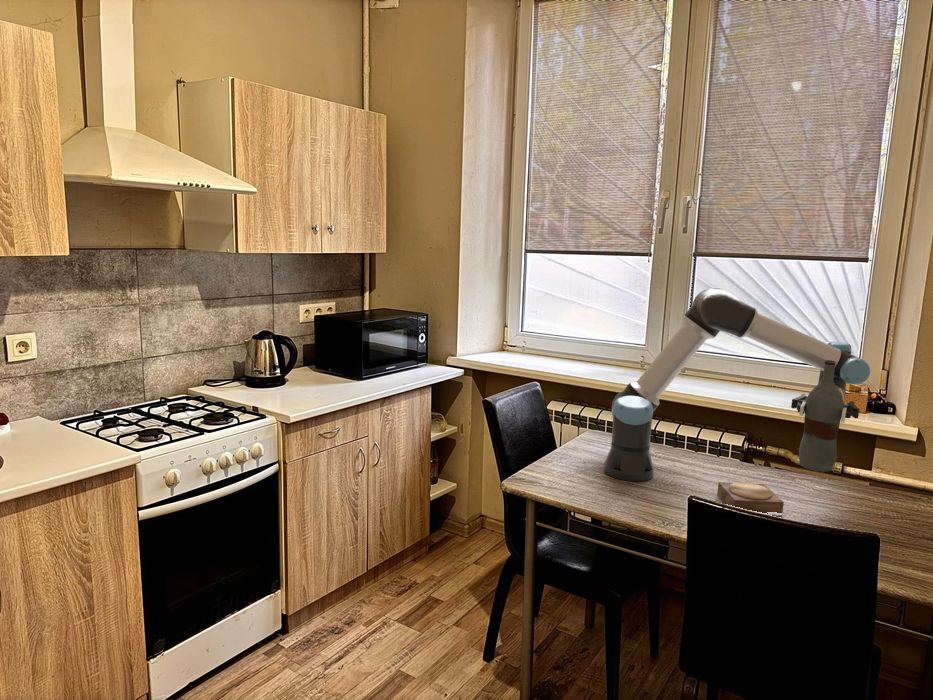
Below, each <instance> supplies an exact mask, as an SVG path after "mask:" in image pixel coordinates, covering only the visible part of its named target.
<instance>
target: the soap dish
mask: <svg viewBox="0 0 933 700" xmlns="http://www.w3.org/2000/svg"><path fill="white" fill-rule="evenodd" d="M716 496H717V497H718V498H719V499H720V498H721V499H720V501H721V502H722V503H723V504H724V503H725V504H728V505H732V506H735V507H740V508H743V509H747V510H752V511H757V512H762V513H767V512H777V513H783V514H784V505H785V503H784V501H783V500H782V499H781V498H780V497H779V496H778V495H777V494H776V493H775V492H774V491H772V490H771V489H770V487H768V486H767V485H766V484H765V483H751V482H740V481H739V482H738V481H737V482H725V481H724V482H723V481H719V482H718V484H717V495H716ZM725 504H724V505H725ZM767 514H768V513H767Z"/></svg>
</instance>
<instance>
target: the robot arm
mask: <svg viewBox="0 0 933 700" xmlns="http://www.w3.org/2000/svg"><path fill="white" fill-rule="evenodd" d="M720 332H724V333H726V334H729V335H730V334H731V336H732V335H733V336H735V337H737V338H739V339H742V338H745V337H746V338H747V339H750V340H752V341H755V342H757V343H759V344H762V345H764V346H766V347H769V348H770V349H773V350H774V351H777V352H778V353H782V354H784V355H786V356H789V357H791V358H793V359H795V360H798V361H800V362H802V363H805V364H806V365H809V366H811V367H813V368H816V369H818V370H819V371H820V372H819V376H818V383H819V382H820V381H821V380H822V377H823V370H824V364H825V362H824V361H825V360H832V361H835V362H836V363H835V370H834V378H833V382H834V383H835V385H836V387H837V389H838V391H839V393H840V395H841V397H842V400H843V412H842V417H841V421H840V423H841V424H843V423H844V424H845V421H846V419H851V417H852V418H854V419H859V415H860V408H858V406H857V405H856V404H855V403H856V402H855V401H847V402H845V401H844V398H845V397H846V393H847V388H846V387H847V384H850V385H861V384H863V383H865V382H866V381H867V380H868V379H869V378H870V375H871V368H870V365H869V363H868V362H866V361H865V360H864V359H863V358H860V357H857V356H856V355H853V354H852V344H850V343H847V342H841V341H826V342H823V341H821V340H819V339H817V338H814V337H812V336H811V335H809V334H808V335H807V333H806V334H805V333H803V332H801V331H799V330H797V329H795V328H792V327H791V326H788V325H785V324H784V323H781V322H778V321H777V320H774V319H773V318H770V317H767V316H765V315H763V314H761V313H759V312H758V310H757V308H755V307H754V306H752V305H749V304H747V303H746V302H744V301H743V300H742V299H739V298H737V297H736V296H735V295H733V294H732V293H731V292H728V291H726V290H724V289H722V288H719V287H709V288H706V289H704V290H702V291H700V292H699V293H698V294H697V295H696V296H695V297H694V300H693V302H692V304H691V306H690V307H689V309H688V310H686V312H685V314H684V315H683V324H682V325H681V326H680V327H679V329H678V330H677V331H676V333H675V334H674V335H672V338H671V339H670V340H669V341H668V343H666V345H665V346H664V347H663V348H662V350H661V351H660V352H659V354H658V355H657V356H656V357H655V358H654V359H653V360H652V362H651V363H650V364H649V366H648V367H647V368H646V369H645V371H644V372H643V373H642V375H640V377H639V378H638V379H637V380H635V381H630V382H629V383H628V384H627V385H626V387H625V388H624V389H623V390H622V391H620V392H618V394H616V396H615V397H614V399H613V400H612V402H611V403H612V404H611V416H612V431H611V443H610V444H611V445H610V449H609V451H608V454H607V456H606V458H605V461H604V465H603V472H604V473H605V474H606V475H608V476H609V477H612V478H614V479H617V480H621V481H627V482H628V481H629V482H644V481H648V480H651V479H653V477H654V471H655V470H654V469H655V468H654V464H653V460H652V455H651V452H650V451H651V449H650V448H651V437H652V436H651V434H652V423H653V416H654V412H655V410H656V409H657V408H658V406H659V405H660V397H661V396H662V394H663V393H664V392H665V391H666V389H667V388H669V386H670V384H671V383H672V382H673V381H674V379H675V378H676V377H677V376H678V375H679V373H680V372H681V371H682V370H683V369H684V367H685V366H686V365H687V364H688V363H689V362H690V360H691V359H692V358H693V356H695V354H696V353H697V352H698V350H699V349H700V348H701V347H702V346H703V344H704V343H705V342H706V341H707V340H709V339H714V338H715V337H716V336H717V335H718V334H719V333H720ZM818 383H817V384H818ZM807 397H808V395H806V394H804V393H802V394H800V396H796V397H794V398H792V399H791V406H790V408H791V409H796V411H797V413H799V415H798V416H799V417H803V416H804V415H805V404H806V400H807Z"/></svg>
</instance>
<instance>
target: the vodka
mask: <svg viewBox="0 0 933 700" xmlns="http://www.w3.org/2000/svg"><path fill="white" fill-rule="evenodd" d="M824 362H825V364H824V370H823V377H822V380H821V381H820V382H819V381H818V382H819V383H817V384H816V385H815V387H813V389H812V390H811V391H810V392H809V393H808V395H807V396H808V397H807V400H806V404H805V412H804V421H803V422H804V424H803V435H802V437H801V440H800V443H799V444H800V445H799V448H798V460H799V465H800V466H801V467H802V468H804V469H807V470H811V471H813V472H814V471H815V472H823V473H824V472H825V473H826V472H831V471H832V470H833V468H834V466H835V463H836V461H837V457H838V453H837V452H838V451H837V450H838V449H837V448H838V447H837V446H838V445H837V440H838V439H837V437H838V433H839V429H840V424H841V418H842V412H843V402H844V399H843V400H842V397H841V395H840V393H839V391H838V389H837V387H836V385H835V383H834V382H833V378H834V370H835V363H836V362H835V361H832V360H825V361H824Z"/></svg>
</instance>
